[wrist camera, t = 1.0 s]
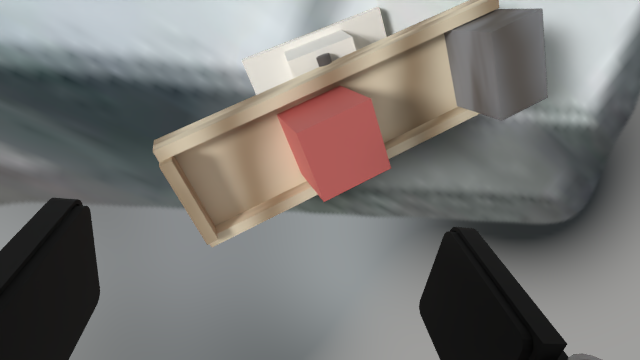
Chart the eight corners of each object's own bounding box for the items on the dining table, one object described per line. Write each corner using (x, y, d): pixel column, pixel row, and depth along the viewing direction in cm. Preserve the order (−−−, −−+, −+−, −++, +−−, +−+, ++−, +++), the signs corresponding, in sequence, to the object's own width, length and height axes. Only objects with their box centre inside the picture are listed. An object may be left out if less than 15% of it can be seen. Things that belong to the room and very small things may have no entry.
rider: (339, 85, 28) (371, 98, 24) (359, 146, 30) (391, 168, 26) (276, 114, 27) (296, 133, 23) (301, 174, 30) (324, 202, 25)
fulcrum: (376, 7, 33) (396, 11, 28) (405, 124, 38) (427, 144, 33) (242, 59, 33) (239, 72, 28) (289, 168, 38) (294, 195, 34)
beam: (469, -11, 31) (540, -16, 25) (484, 98, 35) (548, 116, 29) (149, 130, 27) (143, 163, 21) (211, 233, 31) (221, 285, 25)
